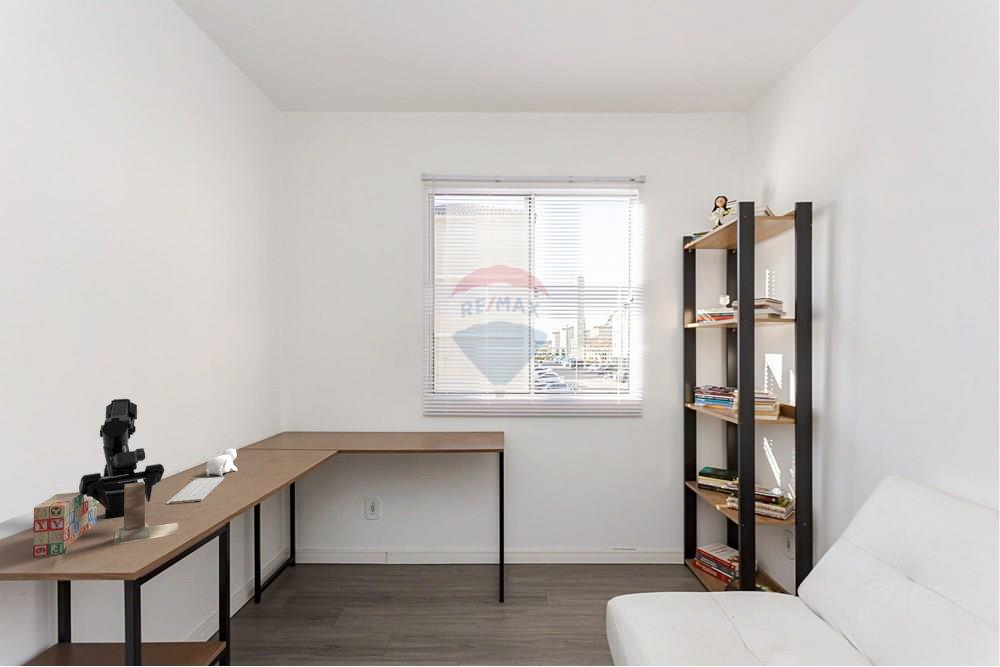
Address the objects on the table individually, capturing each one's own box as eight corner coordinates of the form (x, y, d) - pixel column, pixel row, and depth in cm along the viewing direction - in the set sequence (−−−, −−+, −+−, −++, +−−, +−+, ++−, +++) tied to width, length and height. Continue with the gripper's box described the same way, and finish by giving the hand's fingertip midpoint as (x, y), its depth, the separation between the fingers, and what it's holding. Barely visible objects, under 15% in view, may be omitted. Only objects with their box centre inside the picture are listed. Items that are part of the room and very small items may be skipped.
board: (113, 549, 134) (113, 544, 134) (115, 536, 143) (115, 532, 143) (179, 538, 142) (179, 533, 142) (177, 526, 151) (177, 522, 151)
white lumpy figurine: (226, 483, 211) (245, 461, 225) (222, 465, 208) (241, 444, 222) (205, 483, 212) (225, 461, 226) (200, 465, 209) (221, 444, 223)
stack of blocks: (70, 529, 150) (70, 485, 150) (97, 527, 152) (97, 483, 152) (32, 558, 130) (33, 506, 130) (64, 554, 132) (64, 503, 132)
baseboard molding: (160, 506, 172) (201, 503, 176) (160, 497, 173) (202, 494, 176) (188, 483, 202) (224, 480, 206) (189, 475, 202) (224, 473, 206)
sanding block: (121, 542, 136) (121, 488, 136) (119, 537, 139) (119, 484, 140) (149, 536, 140) (149, 484, 140) (146, 531, 143) (146, 480, 144)
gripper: (81, 444, 141) (91, 495, 134) (162, 435, 155) (175, 480, 147) (75, 470, 146) (83, 519, 139) (153, 458, 160) (165, 503, 153)
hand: (129, 504), depth 144 cm, fingers open, 9 cm apart
